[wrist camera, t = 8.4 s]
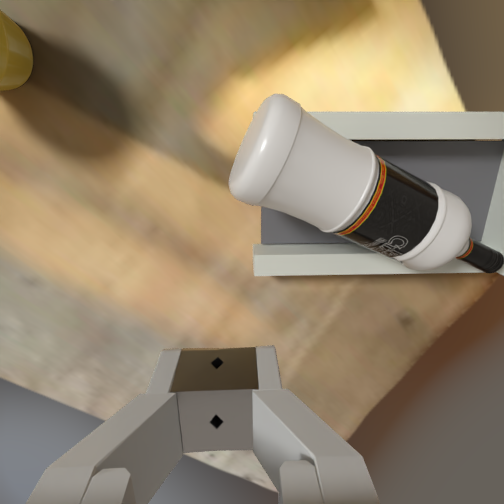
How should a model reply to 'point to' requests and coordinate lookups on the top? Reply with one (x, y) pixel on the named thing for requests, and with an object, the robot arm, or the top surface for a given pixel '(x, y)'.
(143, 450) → the robot arm
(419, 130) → the cradle
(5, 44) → the plant pot
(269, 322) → the top surface
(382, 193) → the vodka
